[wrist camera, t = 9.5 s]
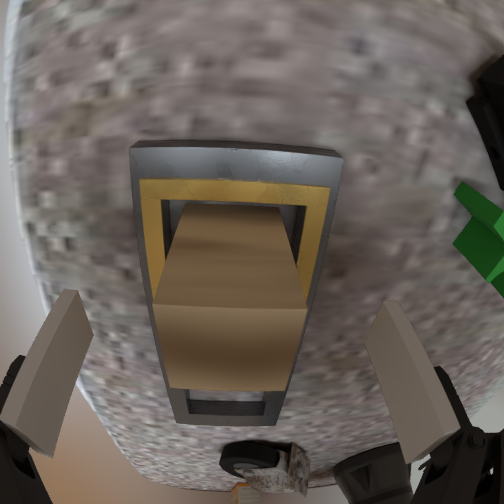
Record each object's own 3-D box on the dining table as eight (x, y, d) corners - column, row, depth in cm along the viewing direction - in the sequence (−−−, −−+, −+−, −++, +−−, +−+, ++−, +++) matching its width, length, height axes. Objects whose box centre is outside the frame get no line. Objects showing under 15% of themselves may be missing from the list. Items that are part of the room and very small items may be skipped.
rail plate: (274, 412, 29) (275, 427, 27) (177, 410, 28) (176, 424, 26) (334, 150, 15) (345, 159, 13) (139, 141, 14) (127, 149, 12)
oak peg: (269, 280, 19) (284, 390, 12) (188, 277, 19) (170, 387, 12) (278, 207, 16) (307, 308, 10) (186, 203, 16) (152, 304, 9)
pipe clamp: (429, 223, 18) (466, 261, 14) (459, 179, 16) (503, 210, 12) (490, 281, 21) (517, 314, 17) (514, 249, 19) (544, 279, 15)
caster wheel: (215, 431, 36) (282, 423, 32) (255, 464, 39) (314, 459, 36) (202, 470, 30) (273, 470, 27) (246, 499, 34) (309, 497, 30)
